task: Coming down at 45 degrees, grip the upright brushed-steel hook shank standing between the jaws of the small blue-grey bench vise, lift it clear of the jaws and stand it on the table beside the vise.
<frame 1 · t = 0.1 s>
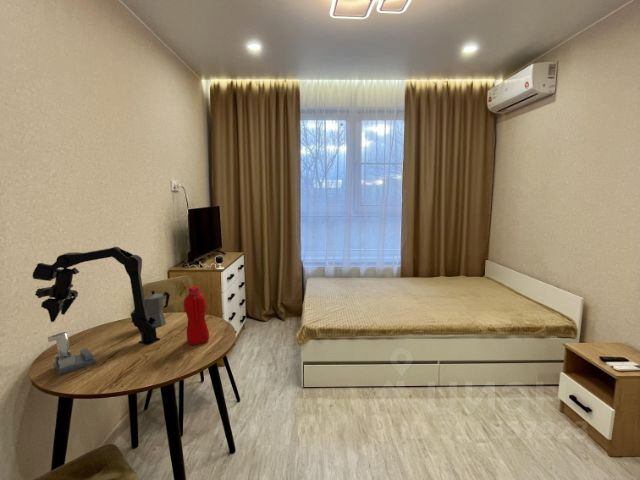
hand: (57, 318, 147), 15 cm above the table, tool pointing down, fingers open, 9 cm apart
water bottle: (198, 342, 155), on the table
vise: (66, 368, 135), on the table
coffeepot: (158, 324, 179), on the table
steel hook: (65, 363, 135), point 2 cm above the table, touching vise
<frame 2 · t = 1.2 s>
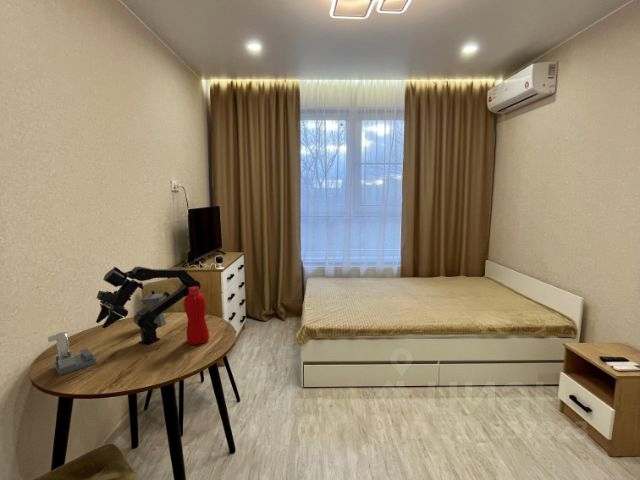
hand: (99, 325, 143), 13 cm above the table, tool tilted 45°, fingers open, 9 cm apart
nothing on the table moved.
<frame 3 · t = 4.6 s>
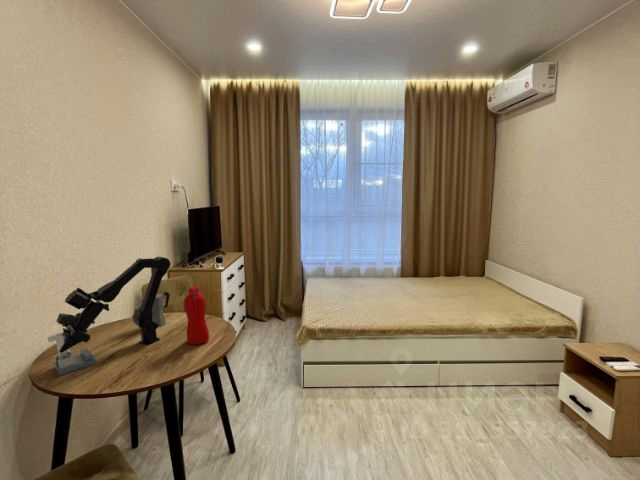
hand: (59, 350, 133), 8 cm above the table, tool tilted 45°, fingers closed on steel hook, 4 cm apart
steel hook: (65, 363, 135), point 2 cm above the table, touching gripper, vise
everything else where it was.
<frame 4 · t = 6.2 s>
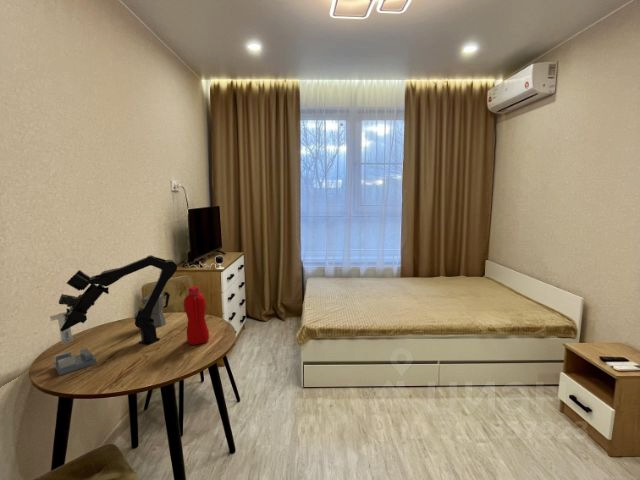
hand: (61, 329, 140), 13 cm above the table, tool tilted 45°, fingers closed on steel hook, 4 cm apart
steel hook: (67, 342, 142), point 7 cm above the table, touching gripper
everything else where it was.
when the fingers open (7 cm above the table, at t = 8.0 s): steel hook stays where it is, on the table.
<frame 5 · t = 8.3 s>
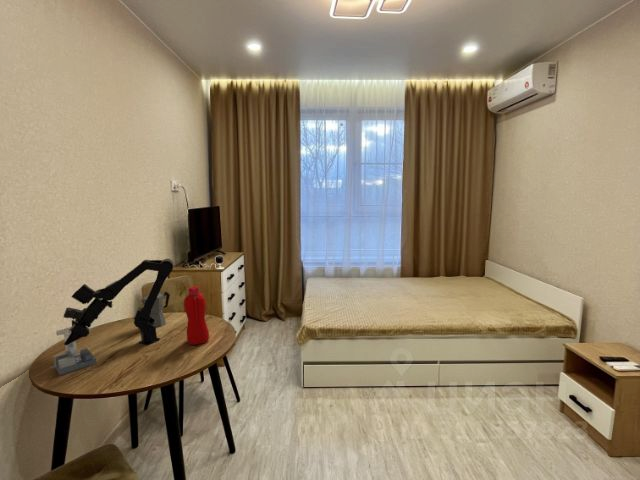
hand: (65, 341, 144), 7 cm above the table, tool tilted 45°, fingers open, 7 cm apart
steel hook: (72, 356, 145), on the table
everything else where it was.
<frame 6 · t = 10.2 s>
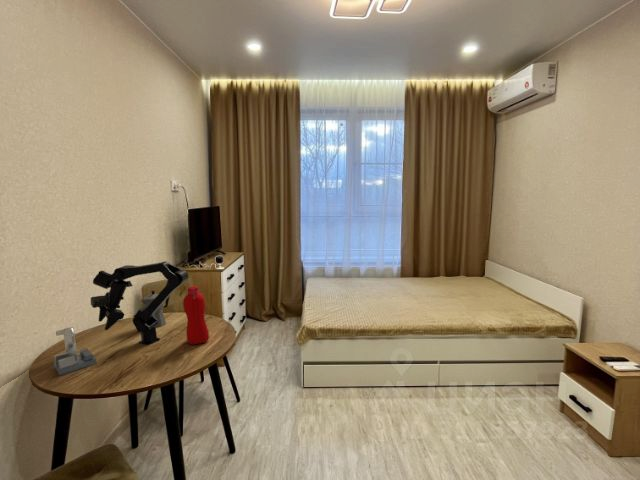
hand: (102, 325, 154), 9 cm above the table, tool tilted 25°, fingers open, 9 cm apart
nothing on the table moved.
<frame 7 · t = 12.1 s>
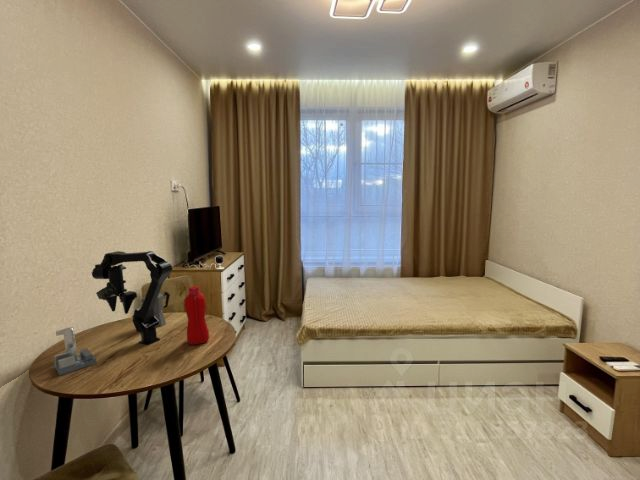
hand: (120, 312, 159), 13 cm above the table, tool pointing down, fingers open, 9 cm apart
nothing on the table moved.
at the end: steel hook inside the target area (0.3 cm from its centre), on the table; steel hook tilted 0°; the gripper is holding nothing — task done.
